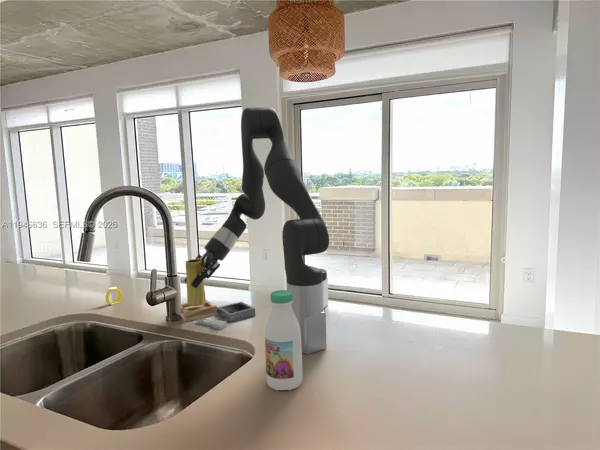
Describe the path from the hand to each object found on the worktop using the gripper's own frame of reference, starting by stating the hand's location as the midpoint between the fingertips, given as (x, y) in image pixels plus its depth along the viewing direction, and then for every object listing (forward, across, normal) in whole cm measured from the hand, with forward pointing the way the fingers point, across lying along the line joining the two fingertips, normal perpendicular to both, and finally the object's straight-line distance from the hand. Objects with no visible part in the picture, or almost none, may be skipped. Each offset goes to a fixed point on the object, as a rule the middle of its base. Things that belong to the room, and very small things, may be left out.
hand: (189, 284), depth 132 cm
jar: (-18, +20, +32) cm, 42 cm away
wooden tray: (+6, 0, +8) cm, 10 cm away
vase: (+4, 0, +6) cm, 7 cm away
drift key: (+7, +13, +7) cm, 16 cm away
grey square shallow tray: (0, +11, +15) cm, 18 cm away
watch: (+19, -30, -5) cm, 36 cm away
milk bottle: (+8, +56, +6) cm, 57 cm away
